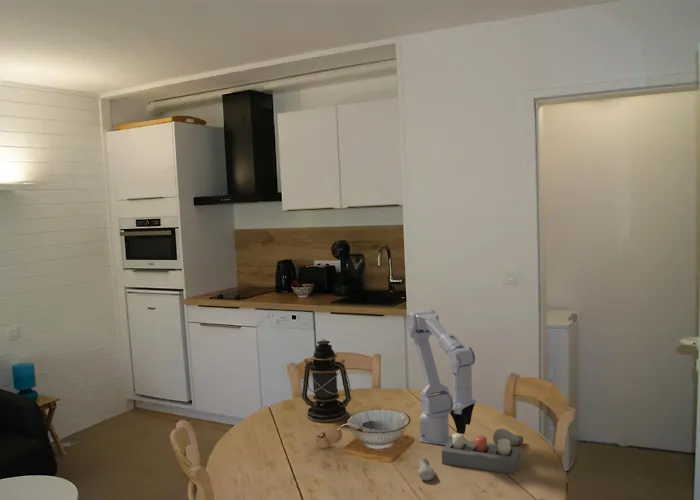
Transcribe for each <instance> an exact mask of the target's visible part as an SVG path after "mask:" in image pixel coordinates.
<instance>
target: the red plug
mask: <svg viewBox="0 0 700 500" xmlns="http://www.w3.org/2000/svg"><path fill="white" fill-rule="evenodd" d="M474 442H475V451H477V452H486V451H487V443H488V440H487V437H486V436H483V435H476V436H475V437H474Z"/></svg>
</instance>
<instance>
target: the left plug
mask: <svg viewBox="0 0 700 500" xmlns="http://www.w3.org/2000/svg"><path fill="white" fill-rule="evenodd" d="M451 435H452V438H451V439H452V442H453V448H455V449H463V448H464V440H465V434H459V433H457V432H454V433H453V434H451Z"/></svg>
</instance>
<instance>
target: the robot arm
mask: <svg viewBox="0 0 700 500" xmlns="http://www.w3.org/2000/svg"><path fill="white" fill-rule="evenodd" d="M405 322H406V328H407V331H408V334H409V338H412V339H413V343H414V347H415V351H416V354H417V359H418V362H419V366H420V370H421V374H422V377H423V381H424V385H425V386H424V388H423V389H422V391H421V392H420V394H419V397H420V407H421V410H422V412H421V414H420V417H419V442H420V443H427V444H435V445H436V444H437V445H442V446H445V445H446V444H447V442H448V441H449V439H450V438H451V439H452V435H453V434H450V427H449V426H450V425H449V423H450V422H449V419H450V418H449V415H450V417H452V420H453V422H454V424H455V428H456V433H459V434H463V435H465V433H466V427H467V425H469V426H470V425H471V422H472V415H473V411H474V407H475V406H476V404H477V400H476V399H473V378H472V374H473V372H472V366H473V365H474V364H475V362H476V355H475V354H476V353H475V351H474V350H473V348H472V347H471V346H470V345H468V346H467V345H464V344H463V343H461V341H460V340H459V339H458V338H457V336H455V335H454V334H453V333H451V332H447V331H446V329H445V327H444V326H443V325H442V324H441V322H440V318H439V314H438V313H437V311H436V310H435V309H433V308H432V309H427V310H420V311H410V312H409V313H407V316H406V320H405ZM432 335H433V336H435V338H436V339H438V345H439V347H440V348H441V349H442V351H444V353H445V354H446V356H447V357H448V362H449V365H450V371H451V372H452V385H453V389H452V390H453V391H452V392H453V396H452V395H451V393H450V391H449V387H447V385H446V386H445V385H443V384H442V383H441V381H440V378H439V373H438V370H437V366H436V362H435V359H434V354H433V351H432V347H431V344H430V340H429V338H430V337H431V336H432Z"/></svg>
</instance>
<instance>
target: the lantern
mask: <svg viewBox="0 0 700 500" xmlns="http://www.w3.org/2000/svg"><path fill="white" fill-rule="evenodd" d="M330 343H331V341H330V340H325V338H322V339H321V340H319V341H316V344H317V345H316V346H315V350H314V352H313V355H312V356H311V357H310V360H309V359H308V358H304V359H303V361H304V362H305V366H304V374H303V381H302V393H301V399H302V400H303V401H304V403H305V404H306V406H309V408H307V414H306V415H307V418H308V419H309V420H310V421H312V422H315V423H316V422H317V423H333V422H337V421H340V420H342V419H344V418H346V416H347V415H348V411H347V406H348V404H349V403H350V402H351V400H352V396H351V392H352V390H351V382H350V378H349V376H348V372H347V370H346V367H345V364H344V363H345V359H344V358H343V359H341V360H340V361H336V359H337V357H338V354H337V353H335V351H334V349H333V346H332V344H330ZM338 371H340V372H339V373H340V376H341V381H342V386H343V390H344V393H343V394H342V396H345V399H344V400H343V401H340V400H339V399H340V396H341V394H339V393H338V392H339V388H338V374H339V373H337V372H338ZM310 373H312V374H311V377H312V384H313V385H312V387H313V389H311V388H310V385H309V383H310V382H309V380H310V379H309V378H310ZM308 391H311V392H312V393H314V395H313V397H312V400H311V399H310V398H309V396H308ZM313 400H314V401H313Z"/></svg>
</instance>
